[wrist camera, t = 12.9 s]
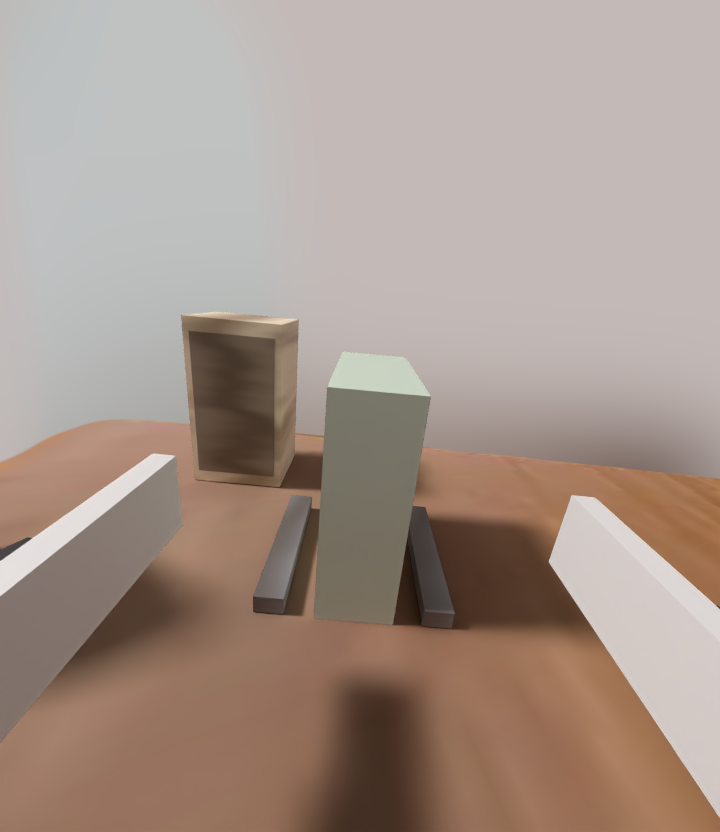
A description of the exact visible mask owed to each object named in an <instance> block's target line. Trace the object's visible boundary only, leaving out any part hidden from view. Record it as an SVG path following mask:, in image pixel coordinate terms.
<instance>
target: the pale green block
mask: <svg viewBox="0 0 720 832" xmlns="http://www.w3.org/2000/svg"><path fill="white" fill-rule="evenodd" d="M430 399H431V396H430V394H429V393H428V392H427V390H426V388H425V387H424V385H423V384H422V382H421V381H420V379H419V378H418V376H417V375H416V373H415V372H414V370H413V368H412V367H411V365H410V364H409V362H408V361H407V359H406V358H405V357H395V356H384V355H373V354H363V353H352V352H343V353H342V355H341V357H340V360H339V362H338V364H337V366H336V369H335V371H334V373H333V375H332V377H331V380H330V382H329V384H328V387H327V400H326V416H325V433H324V449H323V466H322V483H321V500H320V517H319V534H318V550H317V567H316V584H315V601H314V618H315V619H327V620H339V621H351V622H362V623H374V624H386V625H393V621H394V615H395V609H396V603H397V597H398V591H399V585H400V579H401V573H402V567H403V561H404V555H405V549H406V543H407V537H408V531H409V525H410V519H411V513H412V507H413V501H414V495H415V489H416V483H417V477H418V471H419V465H420V459H421V453H422V447H423V441H424V435H425V429H426V423H427V417H428V410H429V405H430Z"/></svg>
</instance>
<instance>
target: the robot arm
mask: <svg viewBox="0 0 720 832" xmlns="http://www.w3.org/2000/svg"><path fill="white" fill-rule="evenodd" d="M182 526H183V523H182V513H181V503H180V493H179V483H178V472H177V462H176V456H172V455H162V454H152V455H150V456H149V457H147V458H146V459H144V460H143V461H142V462H140V463H139V464H137V465H136V466H135V467H133V468H132V469H130V470H129V471H127V472H126V473H125V474H123V475H122V476H120V477H119V478H118V479H116V480H115V481H113V482H112V483H110V484H109V485H108V486H106V487H105V488H103V489H102V490H101V491H99V492H98V493H96V494H95V495H93V496H92V497H91V498H89V499H88V500H86V501H85V502H83V503H82V504H81V505H79V506H78V507H76V508H75V509H74V510H72V511H71V512H69V513H68V514H66V515H65V516H64V517H62V518H61V519H59V520H58V521H57V522H55V523H54V524H52V525H51V526H49V527H48V528H47V529H45V530H44V531H42V532H41V533H39V534H38V535H37V536H35V537H34V538H25V539H23V540H21V541H19V542H17V543H14V544H12V545H10V546H8V547H6V548H4V549H1V550H0V743H1V742H2V740H3V739H4V738H5V737H6V736H7V734H8V733H9V732H10V731H11V730H12V728H13V727H14V726H15V725H16V724H17V723H18V721H19V720H20V719H21V718H22V717H23V715H24V714H25V713H26V712H27V711H28V709H29V708H30V707H31V706H32V705H33V703H34V702H35V701H36V700H37V699H38V697H39V696H40V695H41V694H42V693H43V691H44V690H45V689H46V688H47V687H48V686H49V684H50V683H51V682H52V681H53V680H54V678H55V677H56V676H57V675H58V674H59V672H60V671H61V670H62V669H63V668H64V666H65V665H66V664H67V663H68V662H69V660H70V659H71V658H72V657H73V656H74V654H75V653H76V652H77V651H78V650H79V649H80V647H81V646H82V645H83V644H84V643H85V641H86V640H87V639H88V638H89V637H90V635H91V634H92V633H93V632H94V631H95V629H96V628H97V627H98V626H99V625H100V623H101V622H102V621H103V620H104V619H105V617H106V616H107V615H108V614H109V613H110V612H111V610H112V609H113V608H114V607H115V606H116V604H117V603H118V602H119V601H120V600H121V598H122V597H123V596H124V595H125V594H126V592H127V591H128V590H129V589H130V588H131V586H132V585H133V584H134V583H135V582H136V580H137V579H138V578H139V577H140V576H141V575H142V573H143V572H144V571H145V570H146V569H147V567H148V566H149V565H150V564H151V563H152V561H153V560H154V559H155V558H156V557H157V555H158V554H159V553H160V552H161V551H162V549H163V548H164V547H165V546H166V545H167V543H168V542H169V541H170V540H171V539H172V538H173V536H174V535H175V534H176V533H177V532H178V530H179V529H180V528H181V527H182ZM549 563H550V565H551V566H552V568H553V569H554V571H555V572H556V574H557V575H558V577H559V578H560V580H561V581H562V583H563V584H564V586H565V587H566V589H567V590H568V592H569V593H570V595H571V596H572V598H573V599H574V601H575V602H576V604H577V605H578V607H579V608H580V610H581V611H582V613H583V614H584V616H585V617H586V619H587V620H588V622H589V623H590V625H591V626H592V628H593V629H594V631H595V632H596V634H597V635H598V637H599V638H600V640H601V641H602V643H603V644H604V646H605V647H606V649H607V650H608V651H609V653H610V654H611V656H612V657H613V659H614V660H615V662H616V663H617V665H618V666H619V668H620V669H621V671H622V672H623V674H624V675H625V677H626V678H627V680H628V681H629V683H630V684H631V686H632V687H633V689H634V690H635V692H636V693H637V695H638V696H639V698H640V699H641V701H642V702H643V704H644V705H645V707H646V708H647V710H648V711H649V713H650V714H651V716H652V717H653V719H654V720H655V722H656V723H657V725H658V726H659V728H660V729H661V731H662V732H663V734H664V735H665V737H666V738H667V740H668V741H669V743H670V744H671V746H672V747H673V749H674V750H675V752H676V753H677V755H678V756H679V758H680V759H681V761H682V762H683V764H684V765H685V767H686V768H687V770H688V771H689V773H690V774H691V776H692V777H693V778H694V780H695V781H696V783H697V784H698V786H699V787H700V789H701V790H702V792H703V793H704V795H705V796H706V798H707V799H708V801H709V802H710V804H711V805H712V807H713V808H714V810H715V811H716V813H717V814H718V816H719V817H720V607H719V606H717V605H715V604H713V603H712V602H711V601H710V600H709V599H708V598H707V597H706V596H704V595H703V594H702V593H701V592H700V591H699V590H698V589H697V588H696V587H694V586H693V585H692V584H691V583H690V582H689V581H688V580H687V579H685V578H684V577H683V576H682V575H681V574H680V573H679V572H678V571H677V570H675V569H674V568H673V567H672V566H671V565H670V564H669V563H668V562H666V561H665V560H664V559H663V558H662V557H661V556H660V555H659V554H657V553H656V552H655V551H654V550H653V549H652V548H651V547H650V546H649V545H647V544H646V543H645V542H644V541H643V540H642V539H641V538H640V537H638V536H637V535H636V534H635V533H634V532H633V531H632V530H631V529H629V528H628V527H627V526H626V525H625V524H624V523H623V522H622V521H621V520H619V519H618V518H617V517H616V516H615V515H614V514H613V513H612V512H610V511H609V510H608V509H607V508H606V507H605V506H604V505H603V504H602V503H600V502H599V501H598V500H597V499H596V498H593V497H583V496H573V495H572V496H571V499H570V502H569V505H568V508H567V511H566V514H565V516H564V519H563V522H562V525H561V528H560V531H559V534H558V536H557V539H556V542H555V545H554V548H553V551H552V554H551V557H550V559H549Z"/></svg>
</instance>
